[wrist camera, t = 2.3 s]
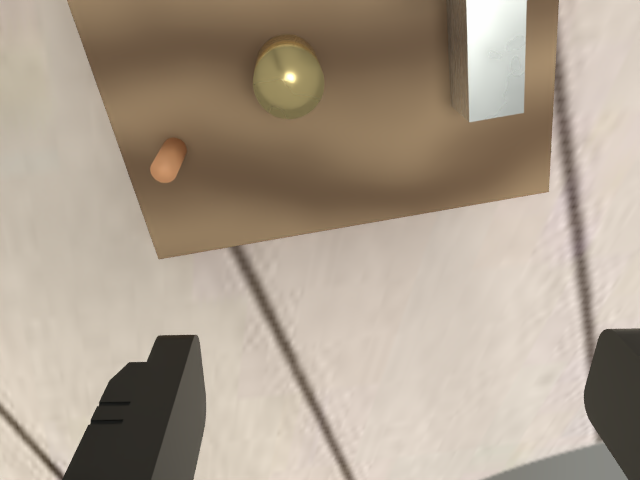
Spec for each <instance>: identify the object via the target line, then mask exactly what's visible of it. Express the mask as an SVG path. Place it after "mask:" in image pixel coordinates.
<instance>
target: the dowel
mask: <svg viewBox="0 0 640 480" xmlns="http://www.w3.org/2000/svg"><path fill="white" fill-rule="evenodd" d="M186 153H187V148H186V145H185V143H184V142H183V141H182V140H180V139H178V138H169V139H167V140H166V141H165V142H164V143H163V145H162V147H161V149H160V150H159V152H158V154H157V156H156V157H155V159H154V161H153V162H152V164H151V167H150V172H151V175H152V176H153V178H154V179H155V180H157V181H159V182H161V183H169V182H171V181H173V180H174V179H175V178H176V176H177V173H178V171H179V169H180V167H181V164H182V162H183V160H184V158H185V155H186Z"/></svg>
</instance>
